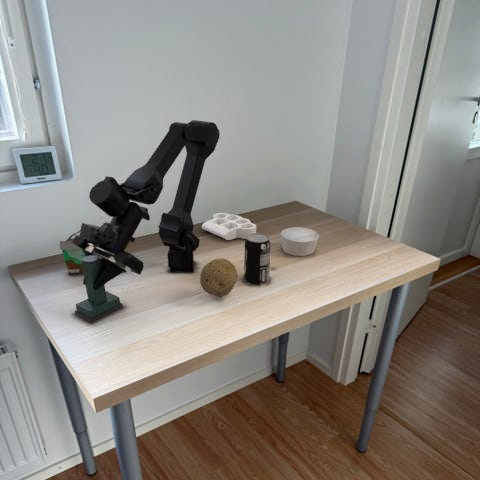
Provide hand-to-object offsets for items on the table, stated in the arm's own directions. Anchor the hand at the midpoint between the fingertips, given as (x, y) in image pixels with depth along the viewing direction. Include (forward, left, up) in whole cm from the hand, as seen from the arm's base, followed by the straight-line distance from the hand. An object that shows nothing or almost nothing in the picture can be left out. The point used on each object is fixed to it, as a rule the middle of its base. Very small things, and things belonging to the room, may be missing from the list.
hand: (89, 287), depth 104 cm
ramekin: (-53, -35, -7) cm, 64 cm away
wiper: (-1, -1, -7) cm, 7 cm away
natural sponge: (-29, -7, -7) cm, 31 cm away
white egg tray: (-27, -43, -4) cm, 51 cm away
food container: (+7, -24, -7) cm, 26 cm away
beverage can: (-39, -16, -7) cm, 43 cm away
